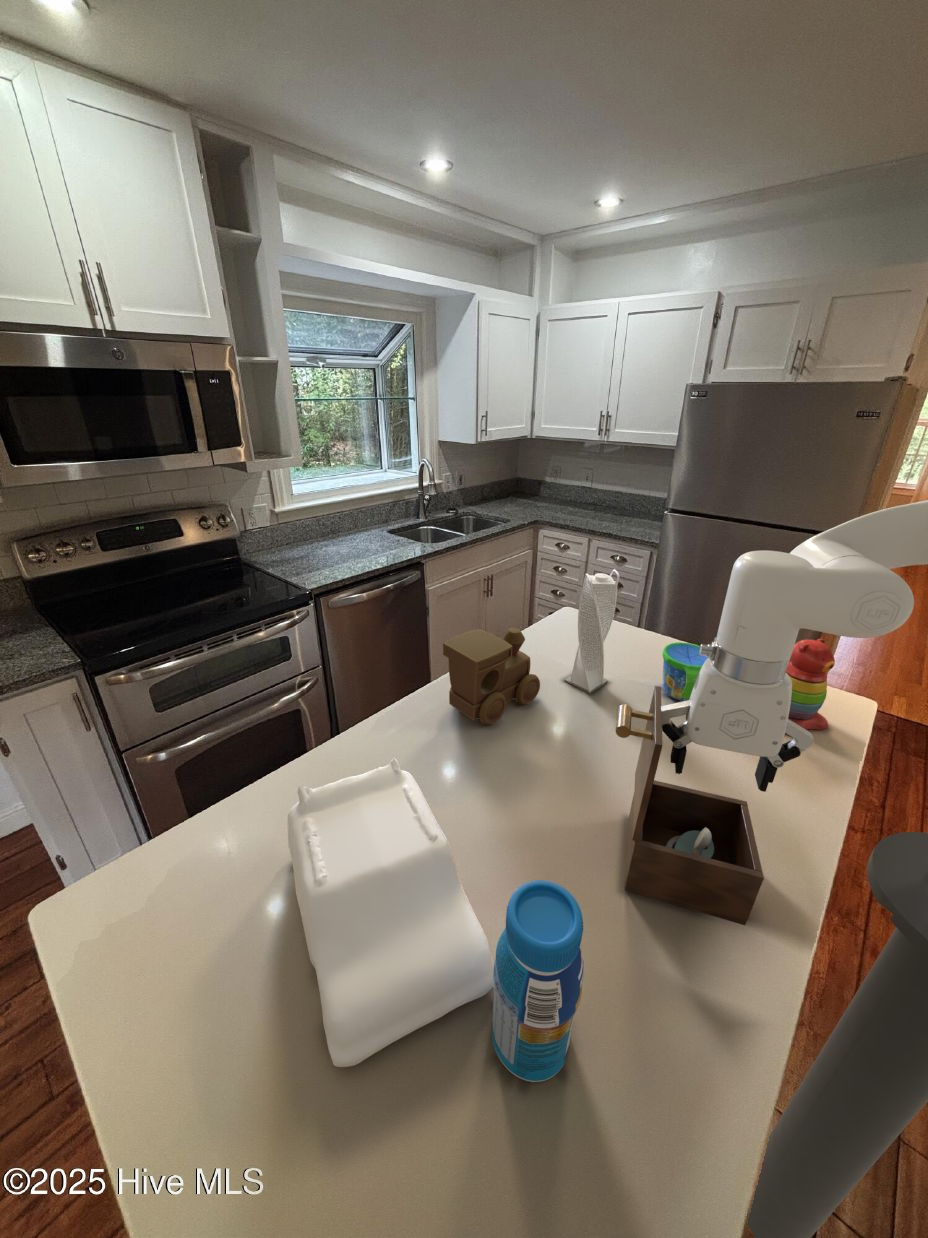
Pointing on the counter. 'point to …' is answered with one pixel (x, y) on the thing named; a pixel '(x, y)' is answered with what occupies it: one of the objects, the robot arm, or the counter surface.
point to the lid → (643, 753)
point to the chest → (687, 877)
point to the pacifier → (694, 843)
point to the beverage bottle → (537, 980)
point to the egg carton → (382, 911)
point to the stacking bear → (809, 682)
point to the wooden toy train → (489, 673)
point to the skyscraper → (593, 630)
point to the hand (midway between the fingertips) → (717, 775)
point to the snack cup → (681, 669)
